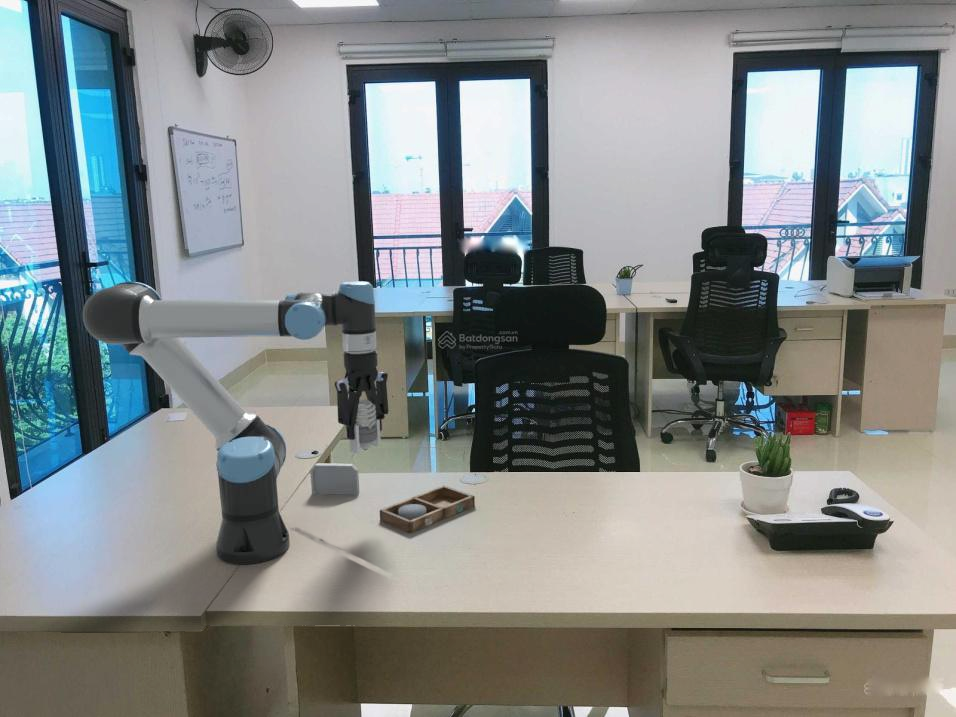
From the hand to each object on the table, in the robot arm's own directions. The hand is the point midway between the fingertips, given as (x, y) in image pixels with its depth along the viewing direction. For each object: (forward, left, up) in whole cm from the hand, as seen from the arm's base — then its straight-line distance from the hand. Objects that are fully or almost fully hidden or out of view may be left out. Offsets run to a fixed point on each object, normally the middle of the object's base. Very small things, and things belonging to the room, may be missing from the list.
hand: (365, 448), depth 179 cm
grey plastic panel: (+4, +18, -17) cm, 25 cm away
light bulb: (0, 0, 0) cm, 0 cm away
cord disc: (+4, -11, -16) cm, 20 cm away
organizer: (+9, -11, -17) cm, 22 cm away
